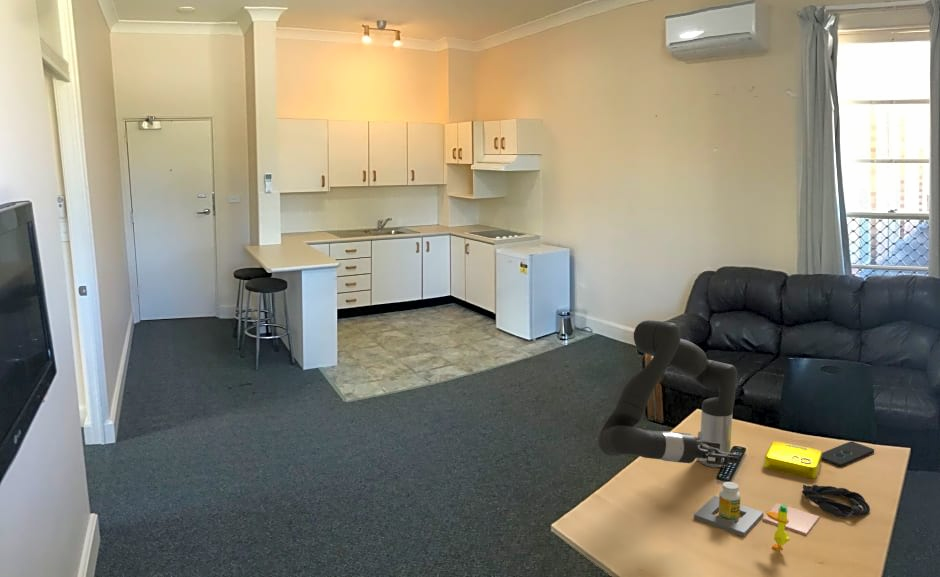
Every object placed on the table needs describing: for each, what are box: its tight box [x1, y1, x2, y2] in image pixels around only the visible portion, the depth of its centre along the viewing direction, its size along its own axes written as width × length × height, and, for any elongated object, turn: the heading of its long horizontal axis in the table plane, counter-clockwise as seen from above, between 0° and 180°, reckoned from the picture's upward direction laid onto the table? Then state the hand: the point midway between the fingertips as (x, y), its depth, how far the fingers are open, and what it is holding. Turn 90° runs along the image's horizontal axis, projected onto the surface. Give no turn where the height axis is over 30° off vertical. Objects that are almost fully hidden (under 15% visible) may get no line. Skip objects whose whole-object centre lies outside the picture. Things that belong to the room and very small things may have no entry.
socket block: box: [693, 495, 764, 538], centre depth 183 cm, size 14×14×1 cm
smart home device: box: [822, 441, 875, 468], centre depth 219 cm, size 8×2×20 cm
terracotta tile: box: [762, 502, 820, 536], centre depth 181 cm, size 11×11×1 cm
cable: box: [801, 484, 871, 518], centre depth 189 cm, size 17×14×4 cm
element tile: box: [763, 440, 823, 480], centre depth 212 cm, size 15×15×5 cm
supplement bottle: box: [718, 481, 742, 523], centre depth 182 cm, size 5×5×10 cm
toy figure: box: [765, 503, 792, 552], centre depth 167 cm, size 7×4×12 cm, turn 37°
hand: (728, 452), depth 176 cm, fingers open, 8 cm apart
